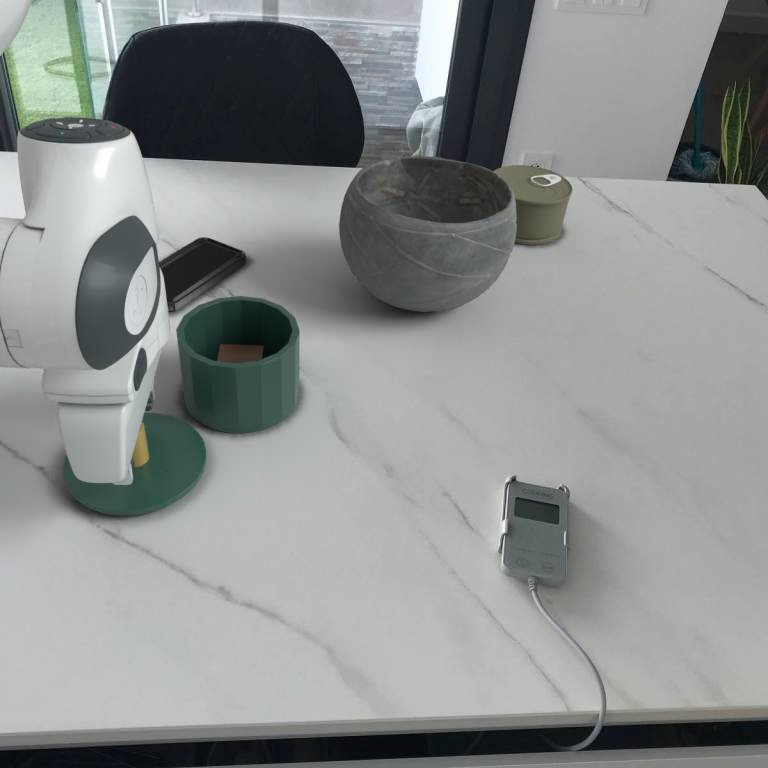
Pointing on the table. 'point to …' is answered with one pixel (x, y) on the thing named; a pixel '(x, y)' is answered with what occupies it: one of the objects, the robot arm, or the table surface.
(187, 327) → the tin
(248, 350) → the block
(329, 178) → the table surface
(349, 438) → the table surface
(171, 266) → the phone
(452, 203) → the bowl
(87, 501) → the tin lid
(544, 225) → the can
